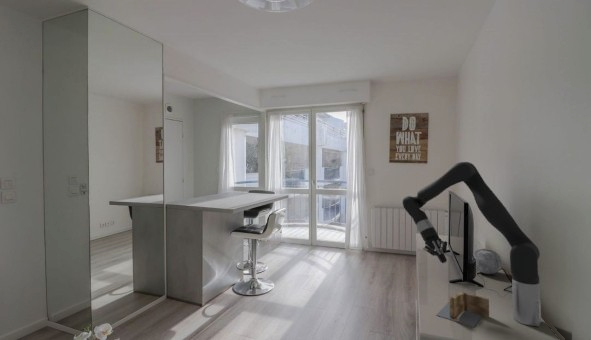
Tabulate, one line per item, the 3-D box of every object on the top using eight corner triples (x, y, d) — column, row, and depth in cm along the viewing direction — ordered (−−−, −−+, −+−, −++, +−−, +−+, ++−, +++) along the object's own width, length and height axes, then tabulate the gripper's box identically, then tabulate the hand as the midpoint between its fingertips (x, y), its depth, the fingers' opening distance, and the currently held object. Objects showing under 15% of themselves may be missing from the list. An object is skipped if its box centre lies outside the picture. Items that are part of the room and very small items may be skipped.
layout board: (484, 311, 136) (484, 311, 136) (474, 327, 124) (473, 326, 124) (448, 302, 146) (448, 301, 146) (436, 315, 134) (436, 314, 134)
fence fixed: (489, 316, 132) (489, 298, 132) (488, 318, 130) (488, 300, 130) (462, 308, 139) (462, 291, 139) (461, 310, 138) (461, 293, 138)
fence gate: (461, 308, 138) (460, 290, 138) (465, 310, 136) (464, 291, 136) (449, 316, 131) (448, 297, 131) (453, 318, 130) (452, 299, 130)
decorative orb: (502, 272, 183) (501, 247, 182) (501, 279, 171) (500, 253, 171) (474, 267, 191) (473, 244, 191) (471, 274, 180) (470, 250, 180)
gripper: (418, 229, 149) (436, 262, 139) (441, 224, 152) (460, 256, 142) (412, 235, 155) (429, 268, 145) (434, 230, 158) (452, 262, 148)
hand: (444, 262), depth 144 cm, fingers closed
